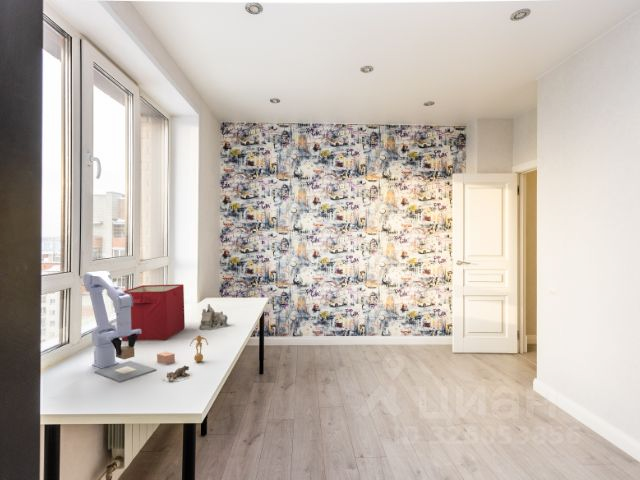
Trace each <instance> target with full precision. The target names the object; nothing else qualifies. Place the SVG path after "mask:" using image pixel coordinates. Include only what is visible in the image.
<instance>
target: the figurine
mask: <svg viewBox="0 0 640 480" xmlns="http://www.w3.org/2000/svg"><path fill="white" fill-rule="evenodd" d="M195 340H196V341H197V342H196V344H195V348H196V353H195V354H194V356H193V358H194V361H195V362H197V363H201V362H202V361H203V359H204V355H203V354H202V347H203V346H202V345H203V342H202V340H205V343H206V345H207V346H208V345H209V342H208V340H207V338H206V337H203V336H202V335H197V336H196V337H194V338H193V339H192V341H191V342H190V344H189V347H191V346H192V344H193V342H194V341H195Z"/></svg>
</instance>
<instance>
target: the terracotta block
mask: <svg viewBox="0 0 640 480" xmlns="http://www.w3.org/2000/svg"><path fill="white" fill-rule="evenodd" d="M175 358H176V357H175V353H173V352H169V351H162V352H159V353H157V354H156V360H157V361H156V362H157V363H159V364H162V365H166V366H167V365H169V364H172V363H175Z"/></svg>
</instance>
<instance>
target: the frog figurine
mask: <svg viewBox="0 0 640 480" xmlns="http://www.w3.org/2000/svg"><path fill="white" fill-rule="evenodd" d="M189 369H190V366H189V365H188V366H187V365H183V366H182V367H179V368H178V367H177V368H176V370H175V372H173V371H170V372H167V373H166V376H164V377H163V378H162V381H163V382H164V381H165V382H167V383H169V384H171V383H178V382H182V381H186V380H187V379H189V378H190V374H189V373H187V372H186V371H189ZM183 378H184V379H183Z"/></svg>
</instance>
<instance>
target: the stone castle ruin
mask: <svg viewBox="0 0 640 480" xmlns="http://www.w3.org/2000/svg"><path fill="white" fill-rule="evenodd" d="M223 313H224V312H223V311H222V310H221V311H220V312H218V311H216V312H215V310H214V309H213V307H212V306H211V304H210V303H208V304H207V309H206V308H202V313H201V320H200V325H199V327H198V330H200V331H211V330H218V329H222V328H226V327H227V326H229V324H228V316H227V314H223Z"/></svg>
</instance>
